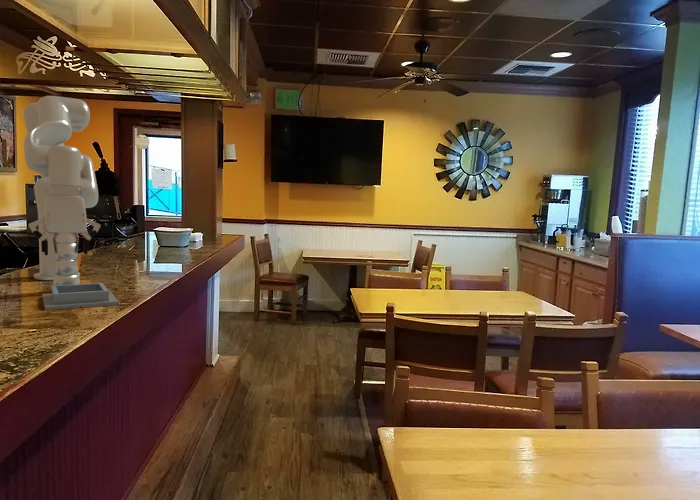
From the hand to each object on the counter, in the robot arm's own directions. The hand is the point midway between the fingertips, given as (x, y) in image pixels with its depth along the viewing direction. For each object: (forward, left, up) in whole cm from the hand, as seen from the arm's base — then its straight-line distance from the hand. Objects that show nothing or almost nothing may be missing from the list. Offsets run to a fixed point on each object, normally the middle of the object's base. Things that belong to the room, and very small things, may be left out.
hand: (66, 254), depth 139 cm
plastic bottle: (0, 0, -11) cm, 11 cm away
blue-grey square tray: (+14, +2, -10) cm, 17 cm away
